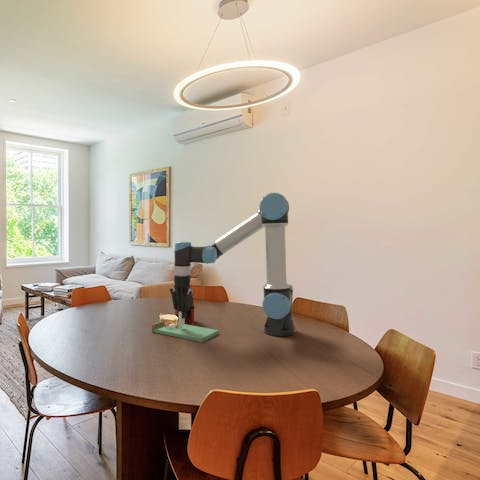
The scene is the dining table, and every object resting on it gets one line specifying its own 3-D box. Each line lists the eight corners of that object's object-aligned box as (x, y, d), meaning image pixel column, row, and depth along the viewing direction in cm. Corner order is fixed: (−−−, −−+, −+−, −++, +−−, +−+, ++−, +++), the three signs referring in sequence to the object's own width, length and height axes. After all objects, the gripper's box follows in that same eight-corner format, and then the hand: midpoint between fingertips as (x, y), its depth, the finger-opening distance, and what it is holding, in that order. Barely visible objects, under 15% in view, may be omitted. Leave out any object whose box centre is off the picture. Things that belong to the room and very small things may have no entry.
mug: (192, 326, 170) (193, 302, 170) (171, 322, 177) (171, 299, 176) (203, 321, 179) (204, 298, 178) (182, 318, 185) (182, 296, 185)
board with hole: (218, 333, 159) (219, 326, 158) (201, 342, 146) (201, 333, 146) (171, 324, 172) (171, 317, 172) (152, 331, 159) (152, 324, 159)
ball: (170, 324, 165) (173, 330, 164) (166, 326, 162) (169, 332, 161) (175, 321, 163) (178, 327, 163) (170, 323, 161) (174, 329, 160)
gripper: (198, 275, 159) (197, 325, 160) (176, 272, 165) (175, 321, 166) (188, 276, 153) (187, 329, 153) (166, 274, 159) (165, 324, 160)
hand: (181, 324), depth 160 cm, fingers closed
